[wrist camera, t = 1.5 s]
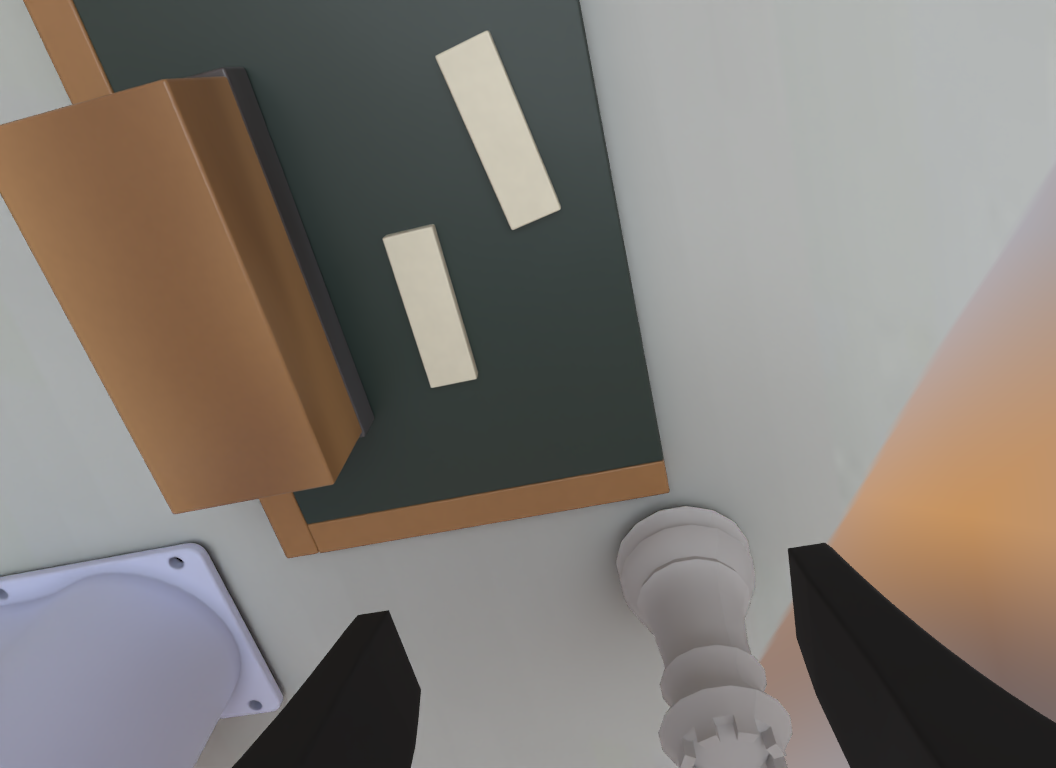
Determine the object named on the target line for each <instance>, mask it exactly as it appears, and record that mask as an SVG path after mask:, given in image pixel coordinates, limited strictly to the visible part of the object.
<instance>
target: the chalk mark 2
mask: <svg viewBox="0 0 1056 768" xmlns="http://www.w3.org/2000/svg"><path fill="white" fill-rule="evenodd" d="M435 57H436V60H437V63H438V65H439V67H440V69H441V72H442V74H443V76H444V78H445V81H446V83H447V85H448V88H449V90H450V92H451V94H452V97H453V99H454V101H455V103H456V106H457V108H458V110H459V112H460V115H461V117H462V119H463V121H464V124H465V126H466V128H467V130H468V133H469V135H470V137H471V140H472V142H473V144H474V146H475V149H476V151H477V153H478V155H479V158H480V160H481V162H482V164H483V167H484V169H485V171H486V173H487V176H488V178H489V180H490V182H491V185H492V187H493V189H494V192H495V194H496V196H497V198H498V201H499V203H500V205H501V207H502V210H503V212H504V214H505V216H506V219H507V221H508V223H509V225H510V228H511V229H512V230H515V229H517V228H519V227H522V226H524V225H526V224H529V223H531V222H533V221H536V220H538V219H540V218H543V217H545V216H547V215H550V214H552V213H554V212H557V211H559V210H560V209H561V205H560V202H559V200H558V198H557V195H556V193H555V190H554V188H553V185H552V183H551V180H550V178H549V176H548V173H547V171H546V168H545V166H544V163H543V161H542V158H541V156H540V153H539V151H538V149H537V146H536V144H535V141H534V139H533V136H532V134H531V131H530V129H529V127H528V124H527V122H526V119H525V117H524V114H523V112H522V109H521V107H520V104H519V102H518V100H517V97H516V95H515V92H514V90H513V87H512V85H511V82H510V80H509V78H508V75H507V73H506V70H505V68H504V65H503V63H502V60H501V58H500V55H499V53H498V51H497V48H496V46H495V43H494V41H493V38H492V36H491V33H490V32H489V31H484V32H482V33H480V34H478V35H476V36H474V37H472V38H470V39H468V40H466V41H464V42H462V43H460V44H458V45H456V46H454V47H452V48H450V49H448V50H446V51H444V52H442V53H440V54H438V55H436V56H435Z"/></svg>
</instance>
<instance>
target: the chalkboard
mask: <svg viewBox="0 0 1056 768" xmlns="http://www.w3.org/2000/svg"><path fill="white" fill-rule="evenodd" d="M23 1H24V3H25V5H26V7H27V10H28V12H29V14H30V16H31V18H32V20H33V22H34V24H35V26H36V29H37V31H38V33H39V35H40V37H41V39H42V41H43V43H44V45H45V48H46V50H47V52H48V54H49V56H50V58H51V60H52V62H53V64H54V67H55V69H56V71H57V73H58V75H59V77H60V79H61V81H62V84H63V86H64V88H65V90H66V92H67V94H68V96H69V98H70V100H71V103H72V105H73V104H76V103H80V102H84V101H87V100H91V99H94V98H98V97H101V96H105V95H108V94H112V93H115V92H119V91H123V90H126V89H130V88H133V87H137V86H140V85H144V84H147V83H151V82H154V81H158V80H161V79H173V78H185V77H188V76H192V75H196V74H199V73H203V72H206V71H210V70H213V69H217V68H220V67H244V69H245V70H246V73H247V76H248V78H249V81H250V84H251V86H252V89H253V92H254V94H255V97H256V100H257V102H258V105H259V108H260V111H261V113H262V116H263V119H264V121H265V124H266V127H267V129H268V132H269V135H270V138H271V140H272V143H273V146H274V148H275V151H276V154H277V156H278V159H279V162H280V164H281V167H282V170H283V173H284V175H285V178H286V181H287V183H288V186H289V189H290V191H291V194H292V197H293V200H294V202H295V205H296V208H297V210H298V213H299V216H300V218H301V221H302V224H303V226H304V229H305V232H306V235H307V237H308V240H309V243H310V245H311V248H312V251H313V253H314V256H315V259H316V262H317V264H318V267H319V270H320V272H321V275H322V278H323V280H324V283H325V286H326V288H327V291H328V294H329V297H330V299H331V302H332V305H333V307H334V310H335V313H336V315H337V318H338V321H339V323H340V326H341V329H342V332H343V334H344V337H345V340H346V342H347V345H348V348H349V350H350V353H351V356H352V359H353V361H354V364H355V367H356V369H357V372H358V375H359V377H360V380H361V383H362V385H363V388H364V391H365V394H366V396H367V399H368V402H369V404H370V407H371V410H372V412H373V415H374V420H373V422H372V424H371V426H370V428H369V430H368V432H367V434H366V435H365V436H364V437H360V438H358V440H357V442H356V444H355V446H354V448H353V450H352V451H351V453H350V455H349V457H348V459H347V461H346V463H345V464H344V466H343V468H342V470H341V472H340V474H339V476H338V477H337V479H336V481H335V483H334V484H332V485H328V486H323V487H318V488H312V489H307V490H302V491H296V492H291V493H286V494H280V495H275V496H270V497H264V498H259V500H260V502H261V504H262V506H263V509H264V511H265V513H266V515H267V517H268V519H269V521H270V523H271V525H272V528H273V530H274V532H275V534H276V536H277V538H278V540H279V542H280V544H281V547H282V549H283V551H284V553H285V555H286V557H287V558H293V557H298V556H304V555H310V554H316V553H318V552H320V553H323V552H329V551H335V550H341V549H347V548H352V547H358V546H364V545H370V544H375V543H381V542H387V541H393V540H399V539H404V538H410V537H416V536H422V535H427V534H433V533H439V532H445V531H450V530H456V529H462V528H468V527H474V526H479V525H485V524H491V523H497V522H502V521H508V520H514V519H520V518H526V517H531V516H537V515H543V514H549V513H554V512H560V511H566V510H572V509H578V508H583V507H589V506H595V505H601V504H606V503H612V502H618V501H624V500H629V499H635V498H641V497H647V496H653V495H658V494H664V493H668V492H669V485H668V479H667V474H666V468H665V463H664V459H663V452H662V447H661V441H660V436H659V430H658V425H657V420H656V414H655V409H654V403H653V398H652V392H651V387H650V382H649V376H648V371H647V365H646V360H645V355H644V349H643V344H642V338H641V333H640V327H639V322H638V317H637V311H636V306H635V300H634V295H633V289H632V284H631V279H630V273H629V268H628V262H627V257H626V252H625V246H624V241H623V235H622V230H621V224H620V219H619V214H618V208H617V203H616V197H615V192H614V186H613V181H612V176H611V170H610V165H609V159H608V154H607V148H606V143H605V138H604V132H603V127H602V121H601V116H600V111H599V105H598V100H597V94H596V89H595V83H594V78H593V73H592V67H591V62H590V56H589V51H588V45H587V40H586V35H585V29H584V24H583V18H582V13H581V8H580V2H579V0H23ZM484 31H489V32H490V33H491V36H492V38H493V41H494V43H495V46H496V48H497V51H498V53H499V55H500V58H501V60H502V63H503V65H504V68H505V70H506V73H507V75H508V78H509V80H510V82H511V85H512V87H513V90H514V92H515V95H516V97H517V100H518V102H519V104H520V107H521V109H522V112H523V114H524V117H525V119H526V122H527V124H528V127H529V129H530V131H531V134H532V136H533V139H534V141H535V144H536V146H537V149H538V151H539V153H540V156H541V158H542V161H543V163H544V166H545V168H546V171H547V173H548V176H549V178H550V180H551V183H552V185H553V188H554V190H555V193H556V195H557V198H558V200H559V202H560V205H561V209H560V210H559V211H557V212H554V213H552V214H550V215H547V216H545V217H543V218H540V219H538V220H536V221H533V222H531V223H529V224H526V225H524V226H522V227H519V228H517V229H515V230H512V229H511V228H510V225H509V223H508V221H507V219H506V216H505V214H504V212H503V210H502V207H501V205H500V203H499V201H498V198H497V196H496V194H495V192H494V189H493V187H492V185H491V182H490V180H489V178H488V176H487V173H486V171H485V169H484V167H483V164H482V162H481V160H480V158H479V155H478V153H477V151H476V149H475V146H474V144H473V142H472V140H471V137H470V135H469V133H468V130H467V128H466V126H465V124H464V121H463V119H462V117H461V115H460V112H459V110H458V108H457V106H456V103H455V101H454V99H453V97H452V94H451V92H450V90H449V88H448V85H447V83H446V81H445V78H444V76H443V74H442V72H441V69H440V67H439V65H438V63H437V60H436V57H435V56H436V55H438V54H440V53H442V52H444V51H446V50H448V49H450V48H452V47H454V46H456V45H458V44H460V43H462V42H464V41H466V40H468V39H470V38H472V37H474V36H476V35H478V34H480V33H482V32H484ZM430 224H434V225H435V228H436V231H437V235H438V238H439V241H440V245H441V248H442V252H443V255H444V258H445V262H446V265H447V269H448V272H449V275H450V279H451V282H452V286H453V289H454V292H455V296H456V299H457V303H458V306H459V309H460V313H461V316H462V320H463V323H464V327H465V330H466V333H467V337H468V340H469V344H470V347H471V350H472V354H473V357H474V361H475V364H476V367H477V371H478V376H477V379H474V380H469V381H464V382H459V383H454V384H449V385H445V386H440V387H435V388H431V386H430V383H429V380H428V377H427V374H426V371H425V368H424V365H423V362H422V359H421V356H420V353H419V350H418V347H417V343H416V340H415V337H414V334H413V331H412V328H411V325H410V322H409V319H408V316H407V313H406V310H405V307H404V304H403V301H402V298H401V295H400V292H399V288H398V285H397V282H396V279H395V276H394V273H393V270H392V267H391V264H390V261H389V258H388V255H387V252H386V249H385V246H384V243H383V237H384V236H386V235H388V234H392V233H396V232H401V231H405V230H409V229H413V228H418V227H422V226H426V225H430Z"/></svg>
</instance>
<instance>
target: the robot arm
mask: <svg viewBox="0 0 1056 768" xmlns="http://www.w3.org/2000/svg"><path fill="white" fill-rule="evenodd" d="M788 555H789V565H790V575H791V586H792V596H793V606H794V616H795V626H796V636H797V640H798V643H799V646H800V649H801V652H802V655H803V658H804V661H805V664H806V667H807V670H808V673H809V675H810V678H811V681H812V684H813V687H814V690H815V693H816V695H817V698H818V700H819V702H820V704H821V706H822V708H823V710H824V713H825V715H826V717H827V719H828V721H829V723H830V725H831V727H832V730H833V732H834V734H835V736H836V738H837V740H838V742H839V744H840V747H841V749H842V751H843V753H844V755H845V757H846V759H847V761H848V763H849V765H850V768H1056V723H1055V722H1053V721H1052V720H1050V719H1048V718H1047V717H1045V716H1043V715H1042V714H1040V713H1039V712H1037V711H1036V710H1034V709H1033V708H1031V707H1029V706H1028V705H1026V704H1025V703H1023V702H1022V701H1020V700H1019V699H1017V698H1016V697H1014V696H1012V695H1011V694H1010V693H1008V692H1007V691H1005V690H1004V689H1002V688H1001V687H999V686H998V685H996V684H995V683H994V682H992V681H991V680H989V679H988V678H987V677H985V676H984V675H983V674H981V673H980V672H978V671H977V670H975V669H974V668H973V667H971V666H970V665H969V664H967V663H966V662H965V661H963V660H962V659H961V658H959V657H958V656H957V655H955V654H954V653H953V652H951V651H950V650H949V649H947V648H946V647H945V646H943V645H942V644H941V643H940V642H938V641H937V640H936V639H935V638H933V637H932V636H931V635H930V634H928V633H927V632H926V631H924V630H923V629H922V628H921V627H920V626H918V625H917V624H916V623H915V622H914V621H913V620H911V619H910V618H909V617H908V616H907V615H905V614H904V613H903V612H902V611H900V610H899V609H898V608H897V607H896V606H895V605H893V604H892V603H891V602H890V601H889V600H888V599H886V598H885V597H884V596H883V595H882V594H881V593H880V592H879V591H877V590H876V589H875V588H874V587H873V586H872V585H871V584H870V583H869V582H867V581H866V580H865V579H864V578H863V577H862V576H861V575H860V574H859V573H858V572H856V571H855V570H854V569H853V568H852V567H851V566H850V565H849V564H848V563H847V562H846V561H845V560H844V559H843V558H842V557H841V556H840V555H839V554H837V552H836V551H835V550H834V549H833V548H832V547H830V546H829V545H827V544H826V543H820V544H814V545H808V546H801V547H795V548H788ZM175 557H177V558H180V559H181V560H182V561H183V562H181V561H179V560H177V559H176V558H175ZM420 694H421V689H420V686H419V684H418V681H417V679H416V677H415V674H414V672H413V669H412V667H411V664H410V662H409V659H408V657H407V654H406V652H405V649H404V647H403V644H402V642H401V640H400V637H399V635H398V632H397V630H396V627H395V625H394V622H393V620H392V617H391V615H390V612H389V610H388V611H382V612H375V613H369V614H362V615H358V616H357V617H356V618H355V619H354V620H353V622H352V623H351V624H350V625H349V626H348V628H347V629H346V630H345V631H344V633H343V634H342V635H341V637H340V638H339V639H338V640H337V642H336V643H335V644H334V646H333V647H332V648H331V649H330V651H329V652H328V653H327V655H326V656H325V657H324V658H323V660H322V661H321V662H320V664H319V665H318V666H317V667H316V669H315V670H314V671H313V673H312V674H311V675H310V676H309V678H308V679H307V680H306V681H305V683H304V684H303V685H302V686H301V688H300V689H299V690H298V691H297V693H296V694H295V695H294V696H293V698H292V699H291V700H290V701H289V703H288V704H287V705H286V706H285V707H284V709H283V710H282V711H281V712H280V713H279V715H278V716H277V717H276V718H275V719H274V720H273V721H272V723H271V724H270V725H269V726H268V727H267V728H266V730H265V731H264V732H263V733H262V734H261V735H260V736H259V738H258V739H257V740H256V741H255V742H254V743H253V745H252V746H251V747H250V748H249V749H248V750H247V751H246V753H245V754H244V755H243V756H242V757H241V758H240V759H239V760H238V762H237V763H236V764H235V765H234V766H233V767H232V768H411V764H412V759H413V754H414V750H415V744H416V735H417V726H418V717H419V706H420ZM282 700H283V695H282V693H281V691H280V689H279V687H278V685H277V683H276V681H275V679H274V678H273V676H272V674H271V672H270V670H269V668H268V666H267V664H266V662H265V660H264V659H263V657H262V655H261V653H260V651H259V649H258V647H257V645H256V643H255V642H254V640H253V638H252V636H251V634H250V632H249V630H248V628H247V626H246V625H245V623H244V621H243V619H242V617H241V615H240V613H239V611H238V609H237V608H236V606H235V604H234V602H233V600H232V598H231V596H230V594H229V592H228V591H227V589H226V587H225V585H224V583H223V581H222V579H221V577H220V575H219V574H218V572H217V570H216V568H215V566H214V564H213V562H212V560H211V558H210V556H209V555H208V553H207V551H206V550H205V549H204V548H203V547H202V546H200V545H198V544H195V543H185V544H180V545H174V546H169V547H163V548H157V549H152V550H146V551H141V552H135V553H130V554H124V555H119V556H113V557H108V558H102V559H96V560H91V561H85V562H80V563H74V564H69V565H63V566H58V567H52V568H47V569H41V570H35V571H30V572H24V573H19V574H13V575H8V576H2V577H0V768H194V766H195V764H196V762H197V760H198V758H199V757H200V755H201V753H202V751H203V749H204V747H205V745H206V743H207V741H208V739H209V737H210V735H211V733H212V732H213V730H214V728H215V726H216V724H217V722H218V720H219V719H223V718H230V717H237V716H244V715H251V714H258V713H265V712H272V711H275V710H277V709H278V708H280V705H281V703H282Z"/></svg>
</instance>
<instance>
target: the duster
mask: <svg viewBox="0 0 1056 768" xmlns="http://www.w3.org/2000/svg"><path fill="white" fill-rule="evenodd" d="M0 194H1V196H2V197H3V199H4V201H5V203H6V205H7V207H8V209H9V210H10V212H11V214H12V216H13V218H14V220H15V222H16V223H17V225H18V227H19V229H20V231H21V233H22V235H23V236H24V238H25V240H26V242H27V244H28V246H29V247H30V249H31V251H32V253H33V255H34V257H35V259H36V260H37V262H38V264H39V266H40V268H41V270H42V272H43V273H44V275H45V277H46V279H47V281H48V283H49V285H50V286H51V288H52V290H53V292H54V294H55V296H56V298H57V299H58V301H59V303H60V305H61V307H62V309H63V311H64V312H65V314H66V316H67V318H68V320H69V322H70V324H71V325H72V327H73V329H74V331H75V333H76V335H77V337H78V338H79V340H80V342H81V344H82V346H83V348H84V350H85V351H86V353H87V355H88V357H89V359H90V361H91V363H92V364H93V366H94V368H95V370H96V372H97V374H98V376H99V377H100V379H101V381H102V383H103V385H104V387H105V389H106V390H107V392H108V394H109V396H110V398H111V400H112V402H113V403H114V405H115V407H116V409H117V411H118V413H119V415H120V416H121V418H122V420H123V422H124V424H125V426H126V428H127V429H128V431H129V433H130V435H131V437H132V439H133V441H134V442H135V444H136V446H137V448H138V450H139V452H140V454H141V455H142V457H143V459H144V461H145V463H146V465H147V467H148V468H149V470H150V472H151V474H152V476H153V478H154V480H155V481H156V483H157V485H158V487H159V489H160V491H161V493H162V494H163V496H164V498H165V500H166V502H167V504H168V505H169V507H170V509H171V511H172V513H173V514H179V513H184V512H189V511H195V510H200V509H205V508H211V507H216V506H221V505H227V504H232V503H237V502H243V501H248V500H254V499H259V498H264V497H270V496H275V495H280V494H286V493H291V492H296V491H302V490H307V489H312V488H318V487H323V486H328V485H332V484H334V483H335V481H336V479H337V477H338V476H339V474H340V472H341V470H342V468H343V466H344V464H345V463H346V461H347V459H348V457H349V455H350V453H351V451H352V450H353V448H354V446H355V444H356V442H357V440H358V438H360V437H364V436H365V435H366V434H367V432H368V430H369V428H370V426H371V424H372V422H373V420H374V415H373V412H372V410H371V407H370V404H369V402H368V399H367V396H366V394H365V391H364V388H363V385H362V383H361V380H360V377H359V375H358V372H357V369H356V367H355V364H354V361H353V359H352V356H351V353H350V350H349V348H348V345H347V342H346V340H345V337H344V334H343V332H342V329H341V326H340V323H339V321H338V318H337V315H336V313H335V310H334V307H333V305H332V302H331V299H330V297H329V294H328V291H327V288H326V286H325V283H324V280H323V278H322V275H321V272H320V270H319V267H318V264H317V262H316V259H315V256H314V253H313V251H312V248H311V245H310V243H309V240H308V237H307V235H306V232H305V229H304V226H303V224H302V221H301V218H300V216H299V213H298V210H297V208H296V205H295V202H294V200H293V197H292V194H291V191H290V189H289V186H288V183H287V181H286V178H285V175H284V173H283V170H282V167H281V164H280V162H279V159H278V156H277V154H276V151H275V148H274V146H273V143H272V140H271V138H270V135H269V132H268V129H267V127H266V124H265V121H264V119H263V116H262V113H261V111H260V108H259V105H258V102H257V100H256V97H255V94H254V92H253V89H252V86H251V84H250V81H249V78H248V76H247V73H246V70H245V69H244V67H220V68H217V69H213V70H210V71H206V72H203V73H199V74H196V75H192V76H188V77H185V78H173V79H161V80H158V81H154V82H151V83H147V84H144V85H140V86H137V87H133V88H130V89H126V90H123V91H119V92H115V93H112V94H108V95H105V96H101V97H98V98H94V99H91V100H87V101H84V102H80V103H76V104H73V105H69V106H66V107H62V108H59V109H55V110H52V111H48V112H45V113H41V114H38V115H34V116H30V117H27V118H23V119H20V120H16V121H13V122H9V123H6V124H2V125H0Z"/></svg>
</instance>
